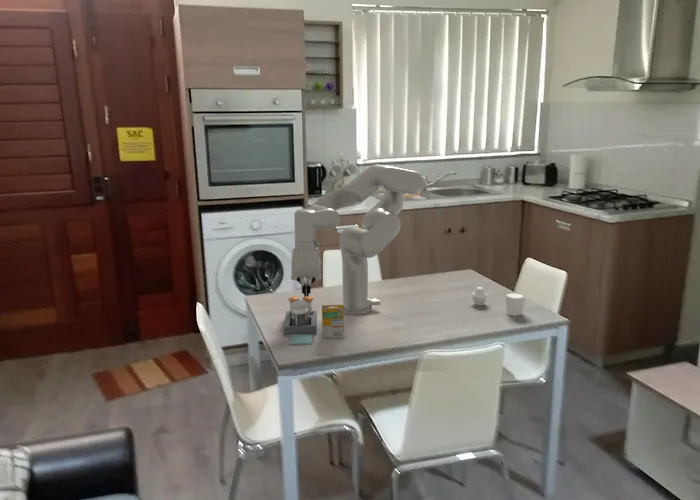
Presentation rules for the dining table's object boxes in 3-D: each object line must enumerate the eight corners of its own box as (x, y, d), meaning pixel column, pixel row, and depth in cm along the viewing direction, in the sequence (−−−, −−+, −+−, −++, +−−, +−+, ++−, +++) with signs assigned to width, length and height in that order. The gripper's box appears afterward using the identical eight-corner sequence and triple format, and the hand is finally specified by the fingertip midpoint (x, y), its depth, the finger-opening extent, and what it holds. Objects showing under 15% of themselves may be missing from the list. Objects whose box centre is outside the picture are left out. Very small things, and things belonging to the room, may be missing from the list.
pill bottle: (311, 327, 195) (310, 300, 192) (305, 333, 189) (304, 306, 187) (296, 325, 196) (295, 299, 194) (289, 331, 191) (288, 304, 189)
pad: (312, 335, 188) (312, 334, 188) (311, 344, 181) (311, 342, 181) (291, 336, 187) (291, 334, 187) (290, 344, 181) (290, 343, 180)
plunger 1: (299, 313, 202) (298, 296, 200) (299, 317, 198) (298, 299, 197) (289, 314, 202) (288, 296, 200) (289, 317, 198) (288, 299, 196)
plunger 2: (313, 313, 202) (312, 295, 200) (313, 316, 199) (312, 299, 197) (303, 313, 202) (302, 296, 200) (303, 317, 198) (302, 299, 197)
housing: (317, 318, 203) (316, 310, 203) (316, 334, 189) (316, 326, 188) (286, 319, 203) (286, 311, 202) (283, 335, 188) (283, 327, 188)
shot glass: (525, 311, 207) (526, 293, 206) (522, 317, 201) (523, 299, 200) (506, 309, 210) (507, 291, 208) (503, 315, 204) (504, 297, 202)
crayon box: (344, 334, 188) (343, 301, 186) (344, 338, 186) (344, 304, 183) (322, 335, 188) (321, 302, 185) (322, 338, 185) (321, 305, 182)
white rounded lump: (469, 305, 214) (470, 288, 213) (472, 300, 220) (473, 283, 218) (486, 307, 212) (487, 290, 210) (488, 302, 217) (489, 285, 216)
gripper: (327, 242, 198) (327, 292, 202) (284, 242, 197) (285, 292, 201) (327, 247, 190) (327, 298, 195) (283, 247, 190) (284, 299, 194)
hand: (306, 295), depth 198 cm, fingers closed
